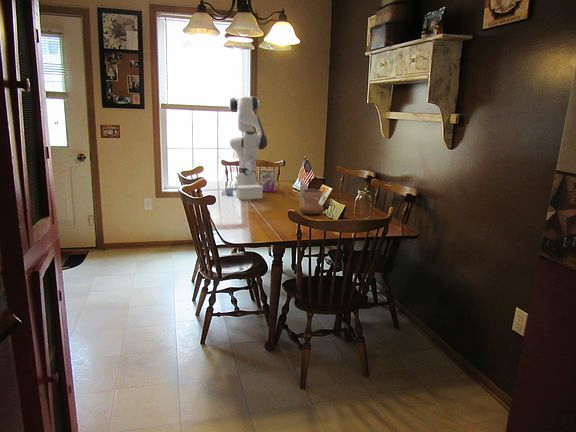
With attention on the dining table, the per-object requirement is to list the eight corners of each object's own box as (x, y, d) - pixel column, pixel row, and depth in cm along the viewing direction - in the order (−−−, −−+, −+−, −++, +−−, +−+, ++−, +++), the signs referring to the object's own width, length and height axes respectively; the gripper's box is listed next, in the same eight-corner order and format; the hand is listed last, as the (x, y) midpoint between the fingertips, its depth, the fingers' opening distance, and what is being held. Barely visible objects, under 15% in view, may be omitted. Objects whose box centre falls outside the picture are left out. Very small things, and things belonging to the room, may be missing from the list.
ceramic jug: (328, 216, 262) (329, 192, 259) (305, 217, 258) (305, 193, 254) (316, 209, 279) (317, 187, 275) (294, 211, 274) (295, 188, 271)
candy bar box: (259, 191, 330) (259, 169, 326) (260, 190, 335) (260, 168, 331) (274, 192, 329) (274, 170, 325) (275, 190, 334) (275, 169, 330)
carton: (236, 196, 312) (236, 186, 311) (258, 195, 317) (258, 185, 315) (239, 200, 301) (239, 190, 300) (262, 198, 306) (262, 189, 304)
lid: (235, 188, 311) (235, 185, 310) (258, 187, 316) (258, 184, 315) (239, 191, 299) (239, 188, 298) (263, 190, 303) (263, 187, 303)
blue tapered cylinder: (225, 194, 319) (225, 187, 318) (232, 194, 320) (232, 187, 319) (226, 195, 314) (226, 188, 313) (233, 195, 316) (233, 188, 314)
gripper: (258, 157, 290) (258, 178, 294) (251, 153, 309) (251, 172, 312) (248, 157, 288) (249, 178, 292) (242, 153, 307) (243, 173, 311)
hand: (250, 175), depth 302 cm, fingers closed
